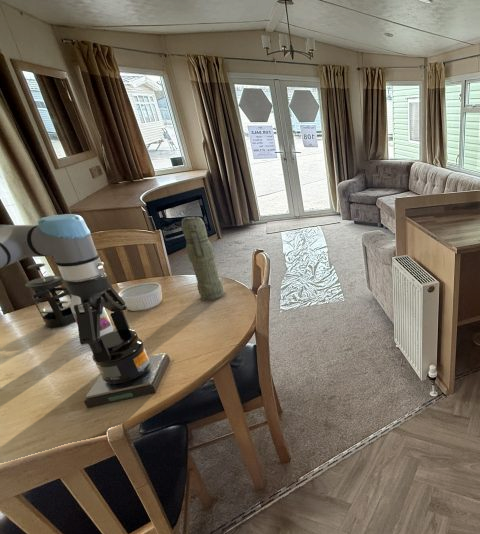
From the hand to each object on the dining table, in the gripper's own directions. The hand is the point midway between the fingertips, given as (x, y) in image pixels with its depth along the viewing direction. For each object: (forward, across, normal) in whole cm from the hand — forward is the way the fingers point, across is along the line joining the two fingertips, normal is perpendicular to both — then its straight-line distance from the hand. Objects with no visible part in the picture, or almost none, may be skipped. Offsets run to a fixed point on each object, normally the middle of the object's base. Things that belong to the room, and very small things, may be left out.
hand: (115, 345), depth 94 cm
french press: (+14, +48, +34) cm, 60 cm away
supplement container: (+10, 0, 0) cm, 10 cm away
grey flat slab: (+11, 0, 0) cm, 11 cm away
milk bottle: (+14, +33, +19) cm, 40 cm away
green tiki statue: (+14, +51, -13) cm, 54 cm away
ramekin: (+14, +52, +11) cm, 55 cm away
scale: (+13, 0, 0) cm, 13 cm away
